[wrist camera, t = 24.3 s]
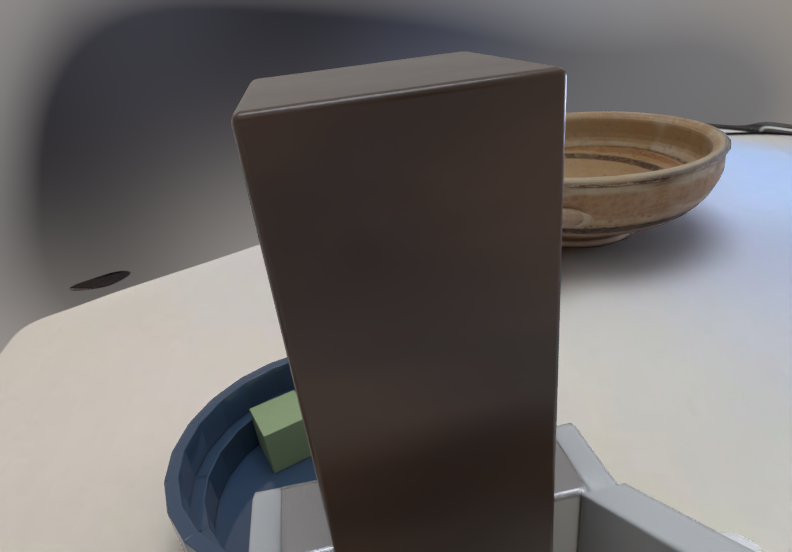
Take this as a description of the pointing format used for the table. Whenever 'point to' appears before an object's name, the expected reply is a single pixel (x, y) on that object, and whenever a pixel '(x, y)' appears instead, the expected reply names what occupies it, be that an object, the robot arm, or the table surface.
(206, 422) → the bowl
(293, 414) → the block
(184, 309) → the table surface
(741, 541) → the polyhedron
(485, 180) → the stick
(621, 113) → the ceramic bowl
